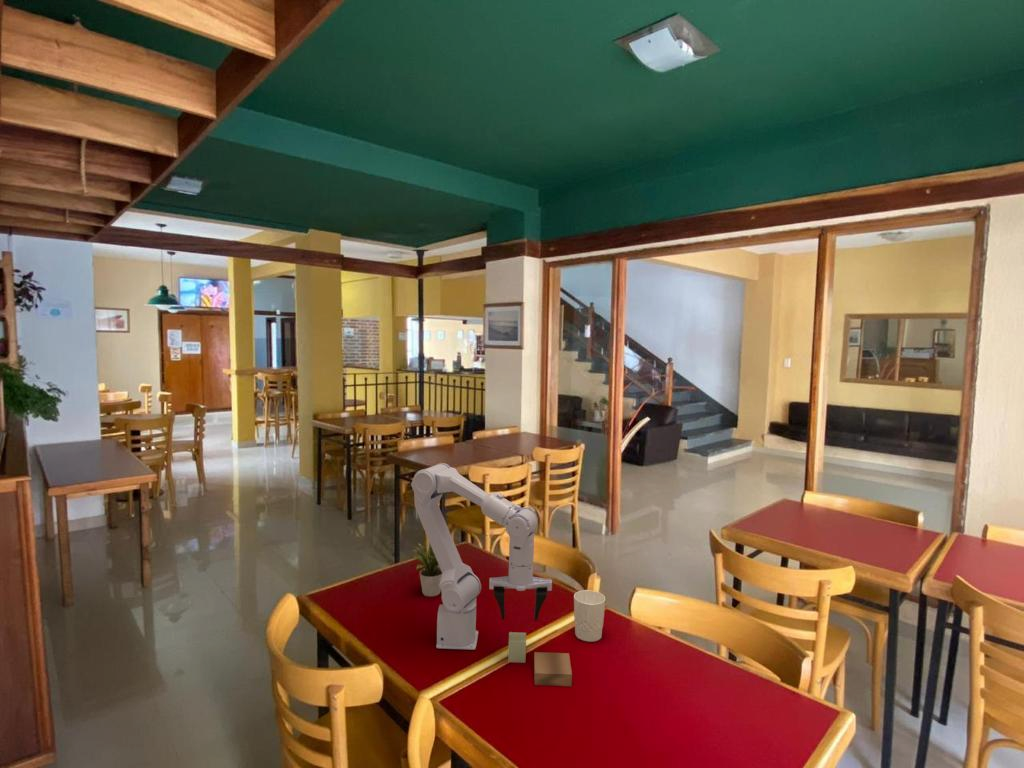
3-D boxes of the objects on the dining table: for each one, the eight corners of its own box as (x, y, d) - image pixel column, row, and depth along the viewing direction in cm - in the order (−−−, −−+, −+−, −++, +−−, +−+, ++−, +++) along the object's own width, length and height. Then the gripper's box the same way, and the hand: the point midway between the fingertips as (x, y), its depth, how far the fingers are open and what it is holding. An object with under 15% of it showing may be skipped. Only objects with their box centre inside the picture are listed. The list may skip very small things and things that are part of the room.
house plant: (433, 610, 146) (434, 553, 145) (395, 598, 153) (396, 542, 152) (463, 591, 158) (464, 537, 157) (427, 580, 165) (427, 528, 164)
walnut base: (534, 686, 115) (534, 673, 115) (534, 664, 123) (534, 652, 123) (571, 687, 115) (571, 674, 115) (568, 665, 123) (568, 653, 123)
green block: (508, 662, 123) (508, 641, 123) (508, 652, 127) (509, 632, 127) (525, 662, 123) (525, 642, 123) (525, 652, 127) (525, 632, 127)
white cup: (603, 645, 131) (604, 606, 130) (571, 641, 133) (572, 602, 132) (604, 629, 139) (605, 591, 138) (574, 625, 140) (575, 588, 140)
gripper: (489, 568, 120) (487, 626, 121) (553, 569, 120) (551, 627, 121) (490, 555, 127) (489, 610, 128) (551, 557, 127) (549, 612, 128)
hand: (519, 618), depth 125 cm, fingers open, 7 cm apart
